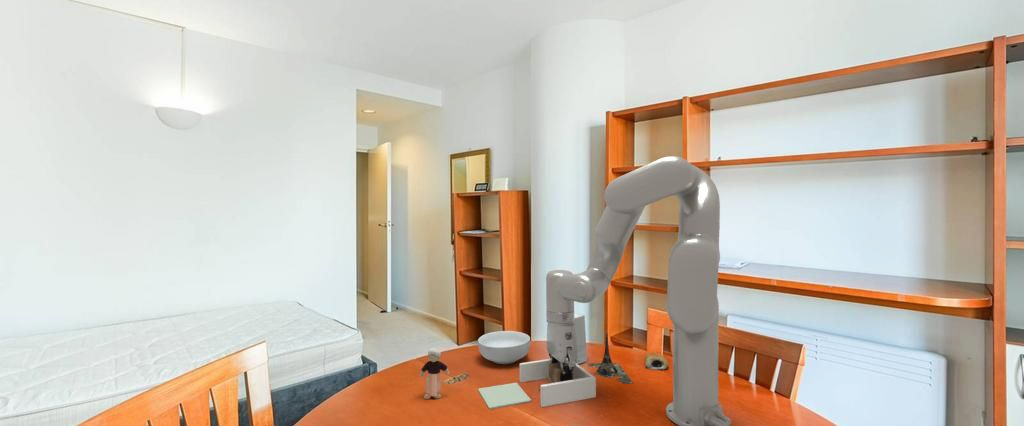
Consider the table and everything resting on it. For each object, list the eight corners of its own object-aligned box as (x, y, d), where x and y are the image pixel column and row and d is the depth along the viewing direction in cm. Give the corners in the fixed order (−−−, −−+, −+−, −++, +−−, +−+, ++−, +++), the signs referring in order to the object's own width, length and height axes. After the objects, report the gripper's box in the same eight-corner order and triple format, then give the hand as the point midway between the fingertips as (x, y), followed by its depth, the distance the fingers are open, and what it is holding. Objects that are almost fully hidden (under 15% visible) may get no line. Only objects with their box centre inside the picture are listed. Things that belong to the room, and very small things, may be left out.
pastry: (642, 358, 130) (642, 347, 130) (664, 360, 128) (664, 348, 128) (645, 370, 120) (645, 357, 120) (669, 371, 119) (669, 359, 119)
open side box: (595, 397, 103) (595, 377, 103) (542, 407, 98) (542, 386, 98) (567, 373, 118) (567, 356, 118) (519, 381, 113) (519, 363, 113)
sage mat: (531, 401, 101) (531, 400, 101) (489, 409, 97) (489, 407, 97) (516, 383, 111) (516, 382, 111) (478, 390, 108) (478, 388, 108)
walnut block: (573, 390, 107) (573, 368, 107) (556, 393, 105) (556, 370, 105) (565, 383, 112) (564, 361, 112) (548, 385, 110) (548, 364, 110)
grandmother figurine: (420, 401, 101) (419, 351, 101) (419, 395, 105) (418, 346, 105) (450, 397, 103) (449, 348, 103) (448, 391, 107) (448, 344, 107)
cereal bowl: (509, 347, 141) (509, 327, 141) (541, 361, 128) (540, 339, 128) (468, 358, 131) (468, 337, 131) (498, 374, 118) (497, 350, 118)
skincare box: (587, 362, 127) (586, 315, 126) (573, 366, 123) (572, 318, 123) (569, 354, 134) (569, 309, 133) (555, 358, 130) (555, 312, 130)
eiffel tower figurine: (634, 385, 111) (633, 337, 110) (597, 386, 110) (597, 338, 110) (618, 364, 126) (617, 322, 125) (586, 365, 125) (585, 322, 125)
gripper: (588, 323, 101) (589, 394, 102) (558, 307, 118) (559, 369, 118) (562, 326, 99) (562, 399, 99) (535, 310, 115) (535, 372, 115)
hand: (560, 382), depth 108 cm, fingers open, 5 cm apart
